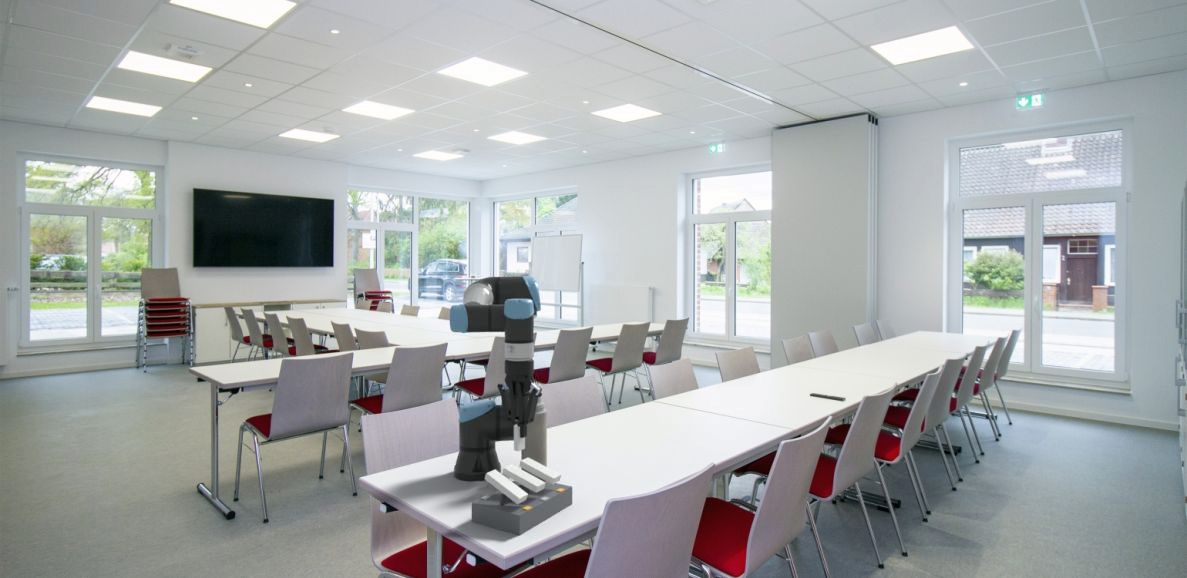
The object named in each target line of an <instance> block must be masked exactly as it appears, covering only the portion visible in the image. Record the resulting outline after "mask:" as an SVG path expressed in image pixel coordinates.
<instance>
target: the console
mask: <svg viewBox="0 0 1187 578" xmlns="http://www.w3.org/2000/svg"><path fill="white" fill-rule="evenodd" d="M536 478H538V479H540V480H542V481H543V482H545V487H544V489H543V490H541V491H539V492H537V493H536V492H534V491H532V490H530V489H529V488H527V487H525V486H523V485H521V484H520V483H518V482H516V481H514V482H513V483H514V484H515V485H517V486H518V487H519V488H521V489H522V490H523V491H525V492H526V493H527V494H528V496H527V499H526V500H525V501H523V502H521V503H519V504H516V503H515V502H514V501H512V500H511V499H510V498H509V497H507V496H506V495H505V494H503V493H502V492H501V491H499V490H498V489H497V490H496V491H494V492H492V493H490V494H487V495H484V496H482V497H480V498H479V499H477V500H474V501H473V502H471V522H472V523H475V524H479V525H483V526H486V527H489V528H493V529H497V530H500V531H502V532H503V531H504V532H506V533H511V534H514V535H518V536H521V535H523V534H525V533H526V532H528V531H529V530H531V529H533V528H534V527H536V526H538V525H539V524H542V523H543V522H545V521H546V520H548V519H549V518H551V517H553V516H555V515H556V514H559V513H560V512H561V511H563V510H565V509H566V508H568V507H570V506H572V505H573V486H571V485H567V484H561V483H559V482H556V483H554V484H551V483H549V482H547V481H545V480H543V479H542V478H540V477H538V476H537V477H536Z"/></svg>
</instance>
